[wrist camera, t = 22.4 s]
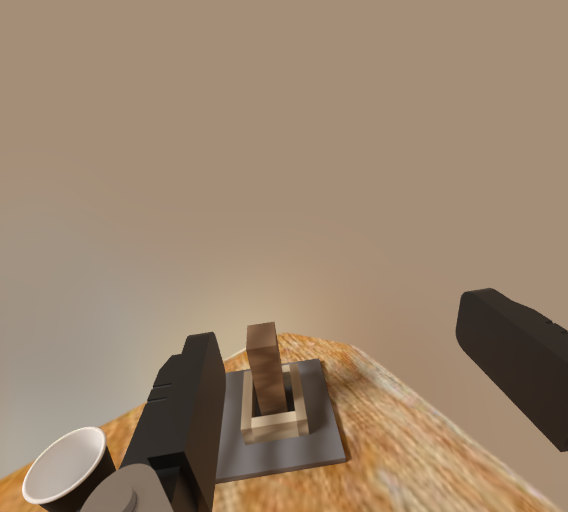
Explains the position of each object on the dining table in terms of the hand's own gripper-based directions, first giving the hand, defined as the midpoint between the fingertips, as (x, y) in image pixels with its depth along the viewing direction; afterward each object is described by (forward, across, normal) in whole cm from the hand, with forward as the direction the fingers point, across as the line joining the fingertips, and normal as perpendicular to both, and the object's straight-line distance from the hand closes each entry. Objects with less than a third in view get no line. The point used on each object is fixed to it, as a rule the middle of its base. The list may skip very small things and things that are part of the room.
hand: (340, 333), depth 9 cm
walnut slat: (+25, +5, +34) cm, 43 cm away
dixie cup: (+15, +28, +36) cm, 48 cm away
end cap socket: (+25, +5, +36) cm, 44 cm away
